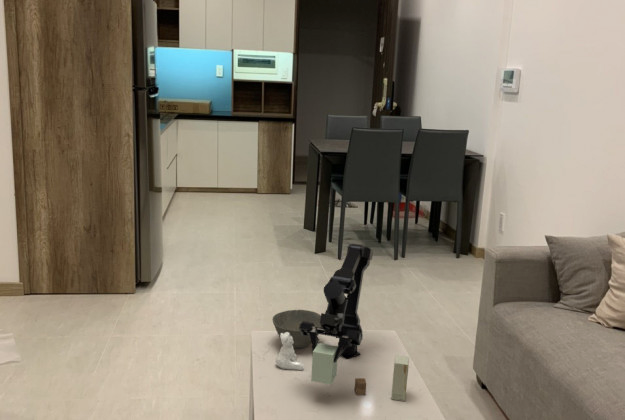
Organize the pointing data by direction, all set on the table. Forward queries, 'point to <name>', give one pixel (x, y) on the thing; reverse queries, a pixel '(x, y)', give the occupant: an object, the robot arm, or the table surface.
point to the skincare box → (400, 377)
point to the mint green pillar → (324, 364)
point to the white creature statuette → (288, 354)
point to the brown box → (360, 386)
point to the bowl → (296, 325)
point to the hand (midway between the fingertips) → (323, 360)
